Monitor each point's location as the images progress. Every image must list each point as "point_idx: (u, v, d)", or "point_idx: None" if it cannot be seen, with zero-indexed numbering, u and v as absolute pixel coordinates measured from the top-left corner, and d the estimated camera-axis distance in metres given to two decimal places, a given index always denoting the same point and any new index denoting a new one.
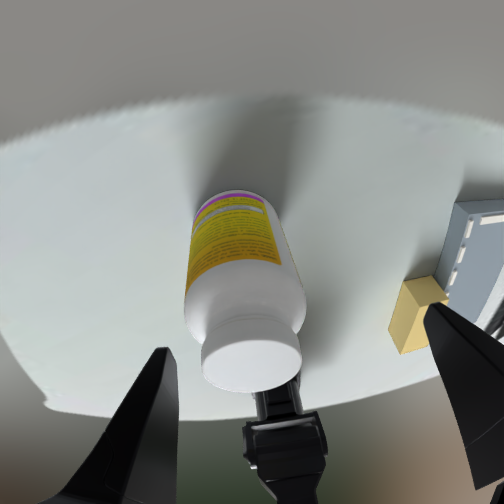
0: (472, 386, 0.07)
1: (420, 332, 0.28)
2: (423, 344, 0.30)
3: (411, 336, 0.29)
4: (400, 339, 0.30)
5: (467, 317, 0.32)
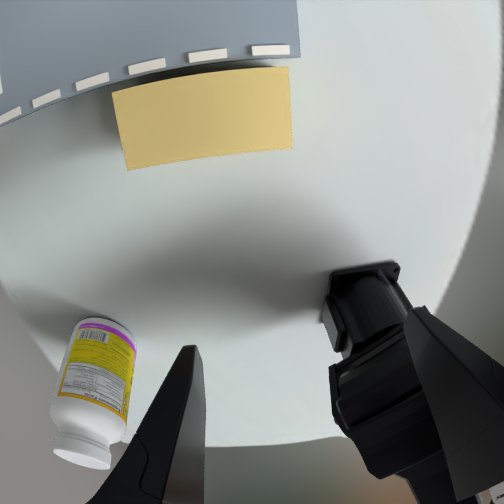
0: (452, 396, 0.07)
1: (211, 124, 0.13)
2: (273, 85, 0.12)
3: (223, 144, 0.13)
4: None
5: None
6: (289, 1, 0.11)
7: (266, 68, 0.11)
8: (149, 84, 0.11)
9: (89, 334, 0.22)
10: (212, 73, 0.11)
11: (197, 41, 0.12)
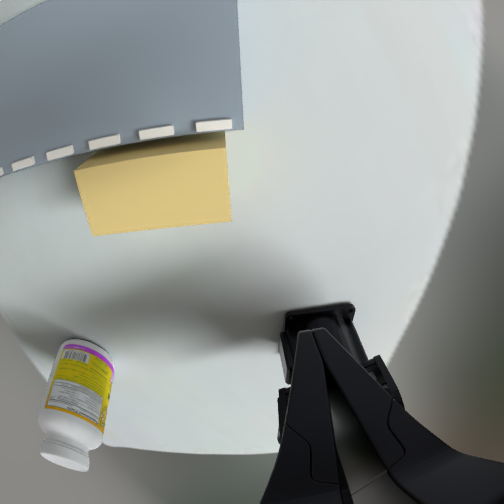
0: (345, 433, 0.07)
1: (158, 201, 0.15)
2: (211, 166, 0.14)
3: (169, 218, 0.15)
4: None
5: (196, 3, 0.11)
6: (233, 71, 0.13)
7: (204, 150, 0.14)
8: (103, 165, 0.13)
9: (72, 354, 0.24)
10: (156, 156, 0.13)
11: (147, 118, 0.14)
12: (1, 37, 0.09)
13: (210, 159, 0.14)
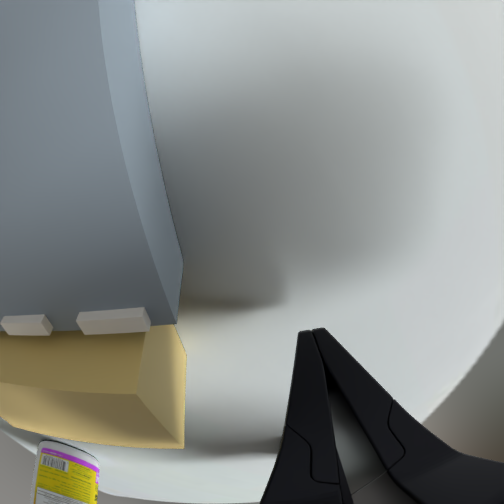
0: (345, 433, 0.07)
1: (67, 425, 0.07)
2: (122, 410, 0.06)
3: (92, 438, 0.08)
4: None
5: (5, 31, 0.03)
6: (117, 205, 0.05)
7: (99, 393, 0.06)
8: None
9: (51, 461, 0.17)
10: (31, 388, 0.06)
11: (3, 300, 0.06)
12: None
13: (116, 403, 0.06)
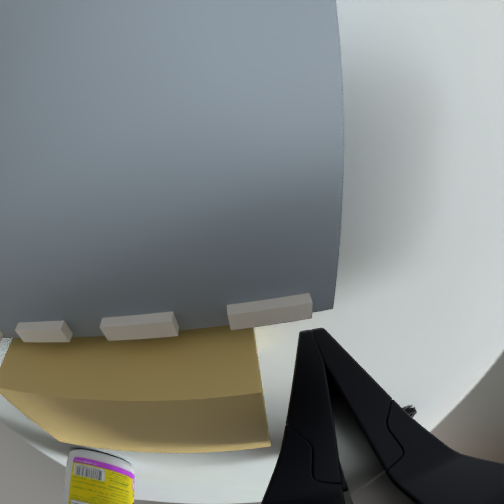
0: (344, 433, 0.07)
1: (142, 437, 0.07)
2: (232, 413, 0.06)
3: (168, 448, 0.08)
4: None
5: None
6: (324, 183, 0.05)
7: (215, 398, 0.06)
8: (31, 394, 0.06)
9: (85, 471, 0.17)
10: (116, 402, 0.06)
11: (109, 298, 0.06)
12: None
13: (229, 406, 0.06)
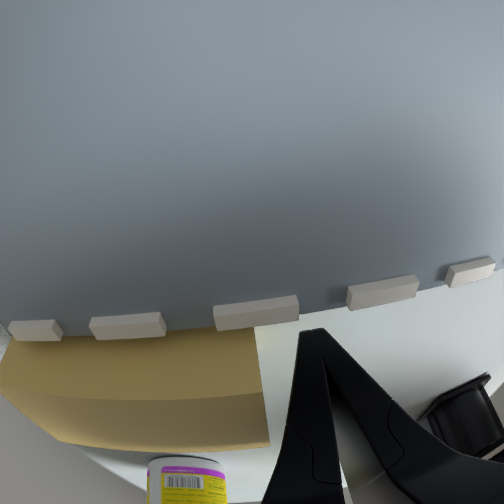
0: (344, 433, 0.07)
1: (142, 436, 0.07)
2: (232, 412, 0.06)
3: (167, 448, 0.08)
4: None
5: None
6: None
7: (216, 397, 0.06)
8: (30, 393, 0.06)
9: (180, 481, 0.17)
10: (116, 401, 0.06)
11: (467, 245, 0.06)
12: None
13: (230, 406, 0.06)
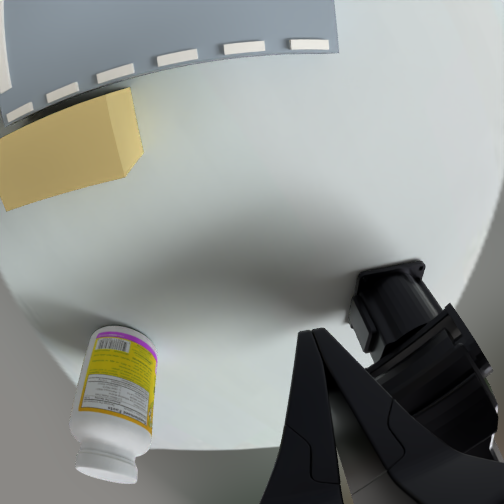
0: (345, 433, 0.07)
1: (52, 165, 0.12)
2: (94, 117, 0.11)
3: (65, 182, 0.12)
4: None
5: None
6: None
7: (85, 102, 0.10)
8: (4, 137, 0.10)
9: (109, 343, 0.21)
10: (44, 118, 0.10)
11: (232, 32, 0.11)
12: None
13: (92, 110, 0.11)
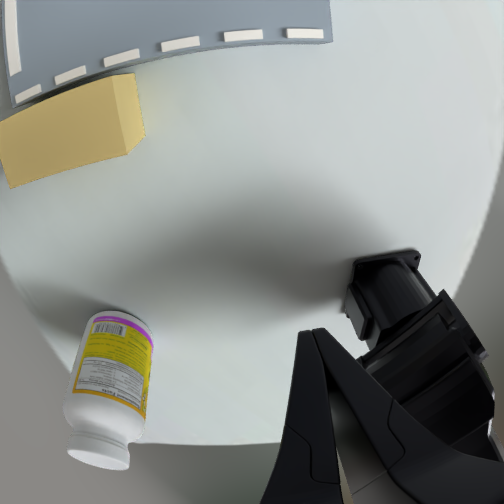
0: (345, 433, 0.07)
1: (57, 143, 0.12)
2: (100, 97, 0.11)
3: (69, 159, 0.13)
4: None
5: None
6: None
7: (92, 82, 0.11)
8: (13, 116, 0.11)
9: (105, 327, 0.22)
10: (52, 98, 0.11)
11: (232, 21, 0.11)
12: None
13: (98, 90, 0.11)
